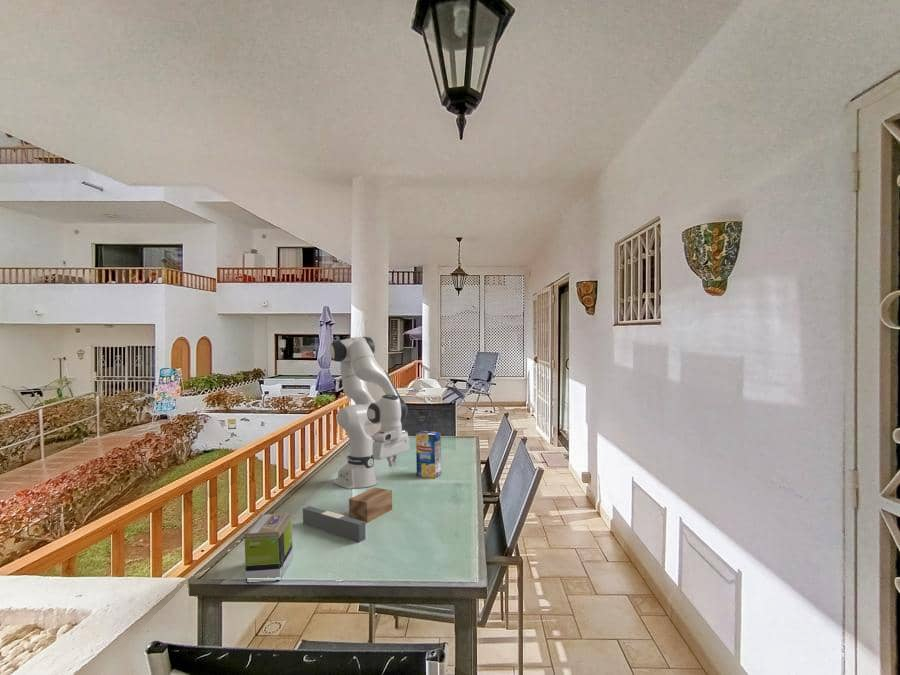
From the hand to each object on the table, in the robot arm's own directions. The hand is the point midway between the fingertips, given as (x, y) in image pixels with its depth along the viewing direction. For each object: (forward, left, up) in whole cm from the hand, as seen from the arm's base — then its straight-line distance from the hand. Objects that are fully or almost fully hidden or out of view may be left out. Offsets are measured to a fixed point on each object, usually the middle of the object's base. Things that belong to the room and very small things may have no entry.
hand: (392, 465), depth 195 cm
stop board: (0, -33, -16) cm, 37 cm away
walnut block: (0, -13, -17) cm, 21 cm away
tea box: (+6, -63, -17) cm, 65 cm away
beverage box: (-12, +42, -17) cm, 47 cm away
